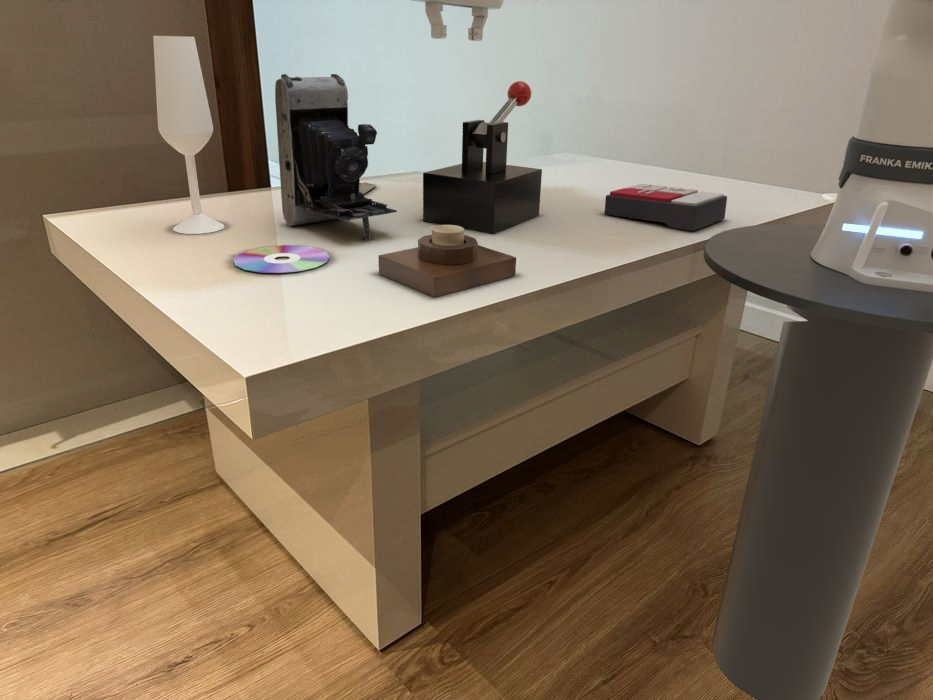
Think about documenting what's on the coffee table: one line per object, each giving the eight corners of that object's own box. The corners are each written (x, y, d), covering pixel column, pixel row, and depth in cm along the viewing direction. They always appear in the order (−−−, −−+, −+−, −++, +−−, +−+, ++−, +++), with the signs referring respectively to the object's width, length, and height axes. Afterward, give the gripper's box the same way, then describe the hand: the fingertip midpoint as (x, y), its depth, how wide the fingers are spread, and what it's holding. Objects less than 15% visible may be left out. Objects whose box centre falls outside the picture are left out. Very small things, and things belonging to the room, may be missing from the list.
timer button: (449, 238, 81) (449, 223, 80) (470, 244, 79) (470, 229, 78) (425, 243, 79) (425, 227, 78) (445, 250, 76) (446, 234, 76)
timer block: (458, 255, 87) (458, 224, 86) (515, 275, 81) (517, 241, 79) (378, 274, 80) (377, 239, 78) (434, 297, 73) (434, 260, 72)
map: (379, 188, 127) (379, 182, 126) (338, 206, 108) (338, 200, 107) (353, 186, 127) (353, 181, 127) (307, 204, 109) (307, 198, 108)
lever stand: (473, 204, 114) (475, 115, 108) (539, 215, 108) (545, 121, 103) (422, 221, 103) (422, 122, 98) (493, 233, 97) (497, 130, 92)
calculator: (640, 181, 116) (729, 190, 107) (638, 207, 118) (725, 219, 108) (604, 190, 109) (696, 201, 99) (603, 218, 110) (693, 231, 101)
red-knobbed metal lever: (516, 97, 109) (512, 75, 107) (537, 98, 108) (533, 77, 105) (472, 150, 102) (467, 128, 100) (494, 153, 101) (488, 131, 98)
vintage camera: (340, 251, 89) (338, 84, 81) (279, 223, 99) (271, 72, 91) (400, 240, 96) (404, 84, 87) (337, 214, 106) (335, 72, 97)
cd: (331, 245, 90) (331, 244, 90) (328, 272, 80) (328, 271, 80) (240, 246, 88) (240, 245, 88) (225, 274, 78) (225, 273, 78)
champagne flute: (207, 235, 93) (182, 37, 83) (162, 231, 94) (132, 35, 84) (234, 223, 99) (213, 37, 89) (191, 220, 100) (166, 35, 90)
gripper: (432, -81, 91) (432, 37, 96) (514, -59, 106) (510, 41, 112) (394, -76, 94) (396, 37, 99) (479, -55, 110) (477, 41, 115)
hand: (457, 39), depth 106 cm, fingers open, 8 cm apart
